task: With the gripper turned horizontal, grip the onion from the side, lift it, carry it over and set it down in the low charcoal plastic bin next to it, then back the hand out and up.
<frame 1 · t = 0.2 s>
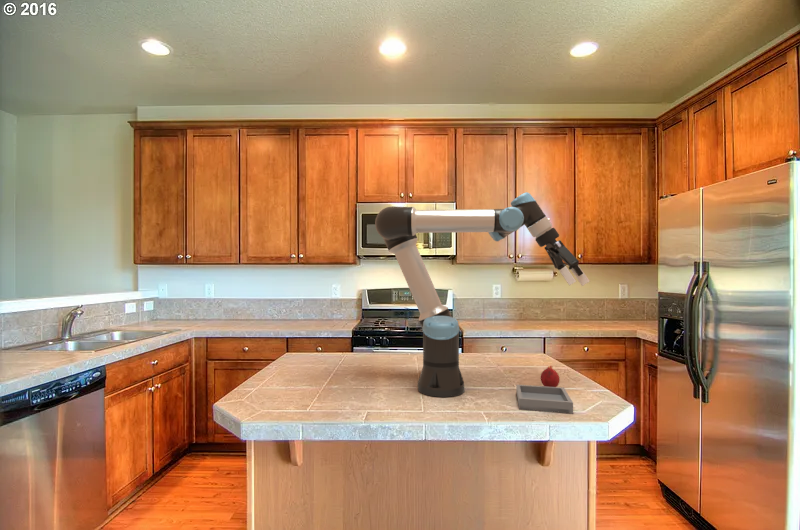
hand: (579, 283, 132), 35 cm above the countertop, tool tilted 35°, fingers open, 13 cm apart
onion: (550, 390, 124), on the countertop
bin: (542, 403, 112), on the countertop
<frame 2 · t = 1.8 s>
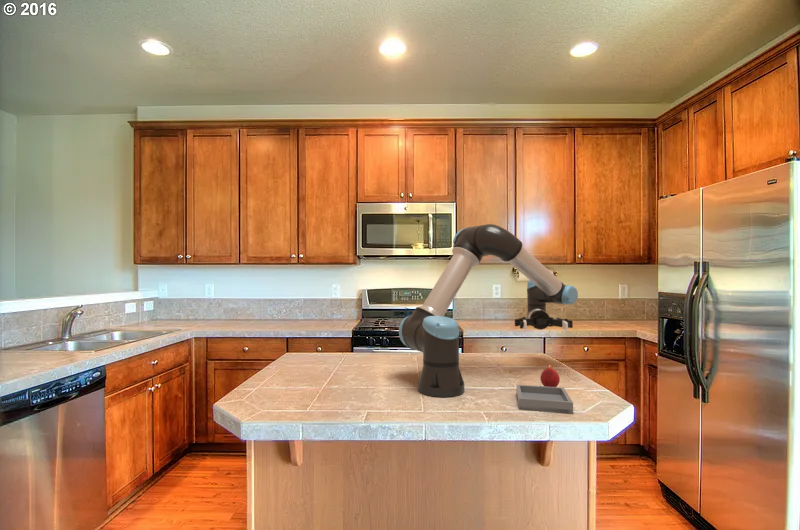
hand: (545, 326, 134), 19 cm above the countertop, tool horizontal, fingers open, 13 cm apart
nothing on the countertop moved.
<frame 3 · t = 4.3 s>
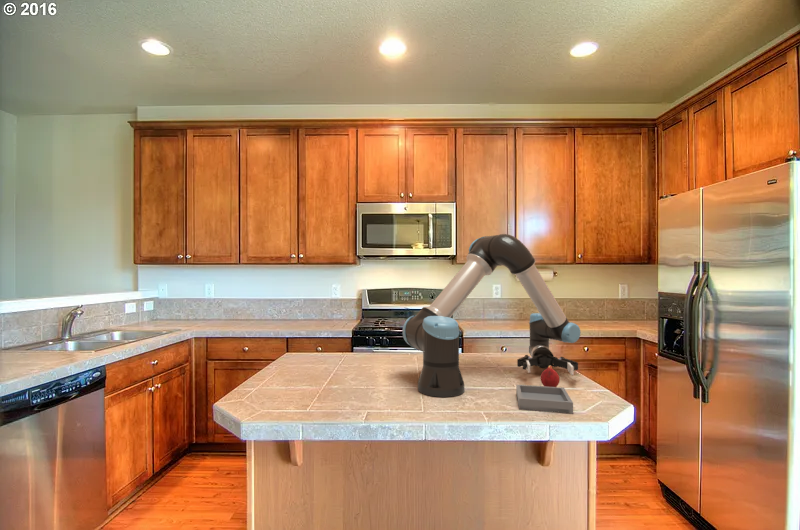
hand: (550, 369, 128), 6 cm above the countertop, tool horizontal, fingers open, 13 cm apart
nothing on the countertop moved.
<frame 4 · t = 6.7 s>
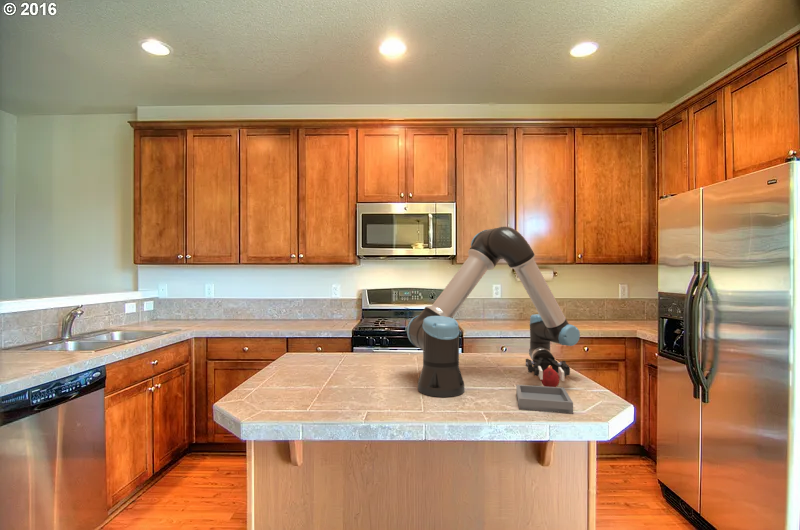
hand: (552, 375, 119), 6 cm above the countertop, tool horizontal, fingers closed on onion, 6 cm apart
onion: (550, 390, 124), on the countertop, touching gripper
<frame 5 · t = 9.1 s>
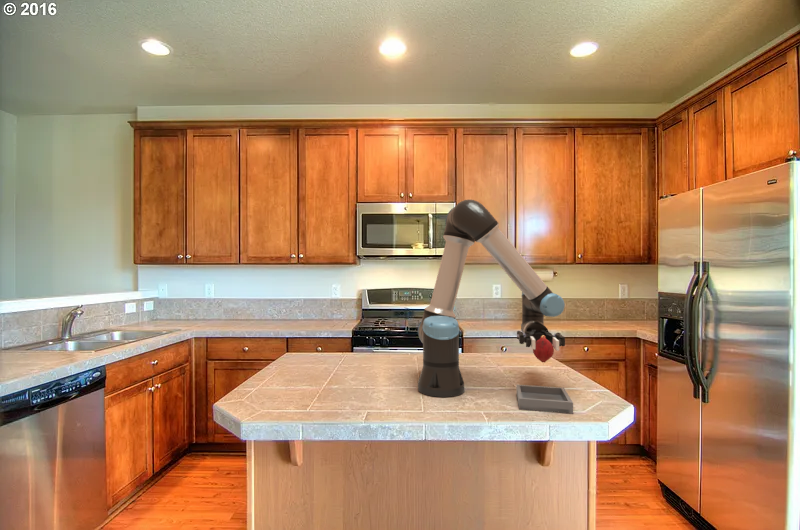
hand: (545, 345, 108), 18 cm above the countertop, tool horizontal, fingers closed on onion, 6 cm apart
onion: (543, 363, 113), point 12 cm above the countertop, touching gripper
when the fingers open (8 cm above the countertop, at t = 11.7 s): onion drops 1 cm, resting on bin.
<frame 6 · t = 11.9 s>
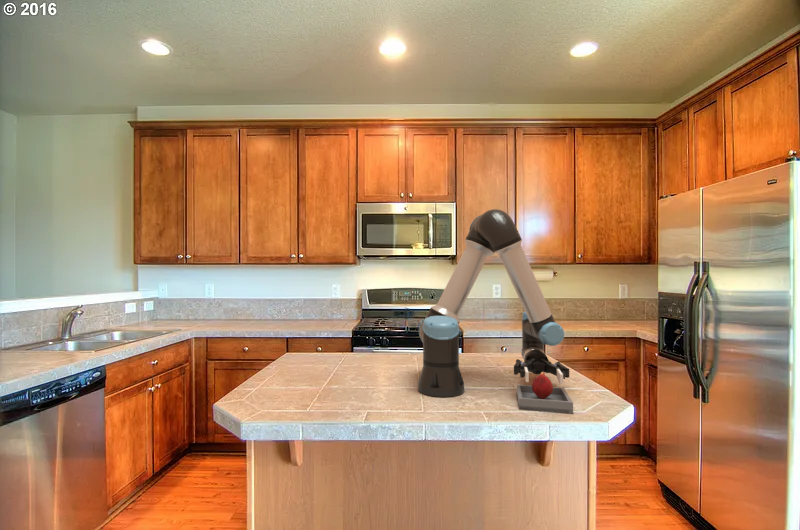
hand: (544, 378, 107), 8 cm above the countertop, tool horizontal, fingers open, 8 cm apart
onion: (542, 400, 112), point 1 cm above the countertop, touching bin
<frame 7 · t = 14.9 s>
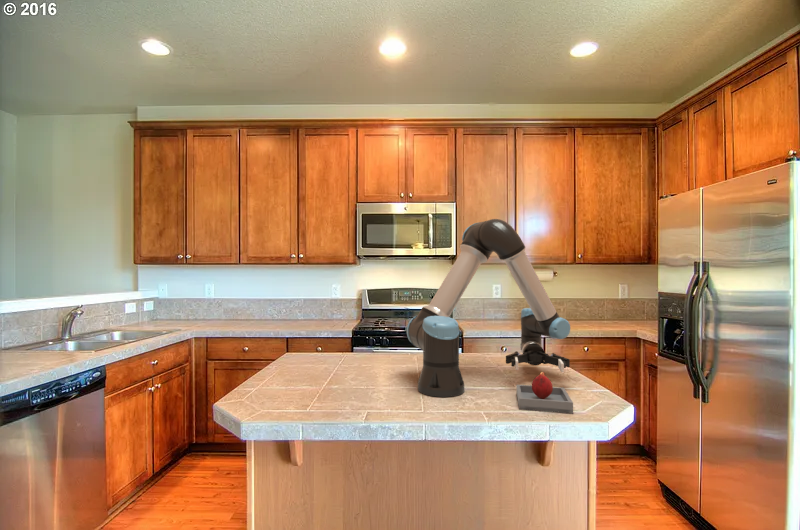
hand: (539, 366, 120), 9 cm above the countertop, tool horizontal, fingers open, 13 cm apart
nothing on the countertop moved.
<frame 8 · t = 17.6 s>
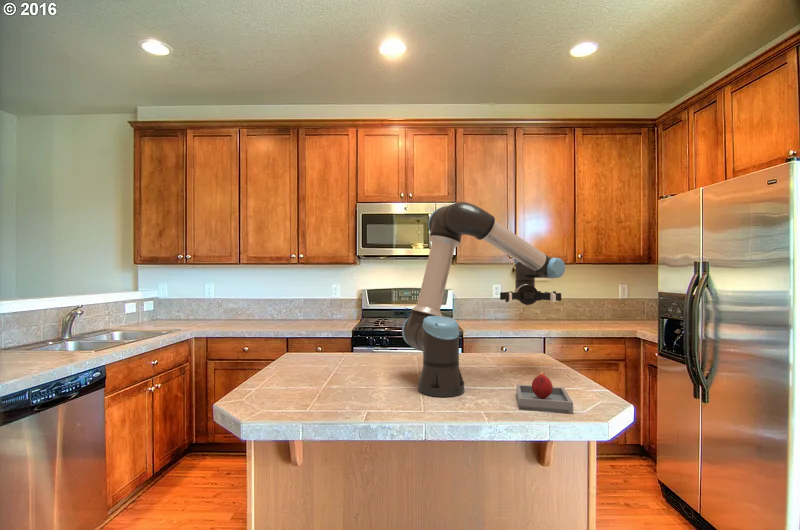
hand: (532, 297, 125), 30 cm above the countertop, tool horizontal, fingers open, 13 cm apart
nothing on the countertop moved.
at the end: onion inside the target area on the bin (0.1 cm from its centre), point 0.8 cm above the bin's base; the gripper is holding nothing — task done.
